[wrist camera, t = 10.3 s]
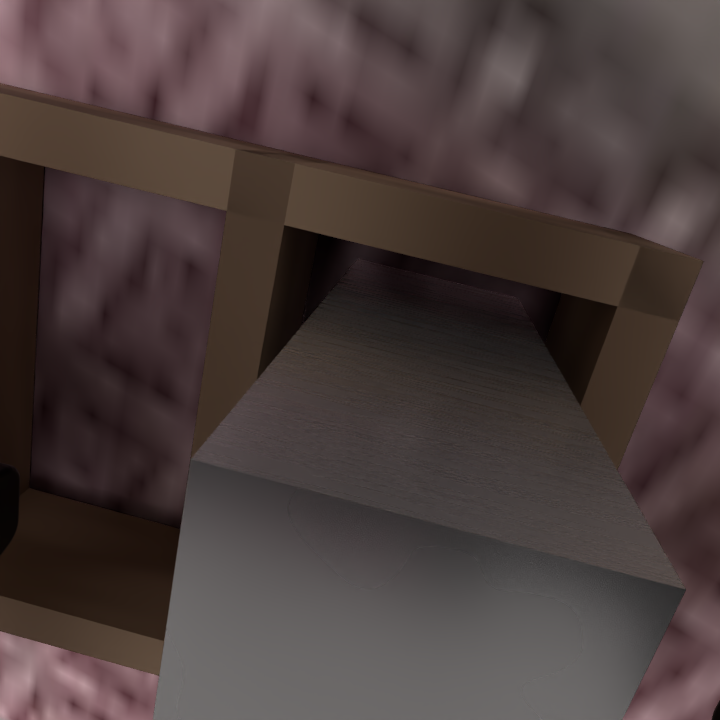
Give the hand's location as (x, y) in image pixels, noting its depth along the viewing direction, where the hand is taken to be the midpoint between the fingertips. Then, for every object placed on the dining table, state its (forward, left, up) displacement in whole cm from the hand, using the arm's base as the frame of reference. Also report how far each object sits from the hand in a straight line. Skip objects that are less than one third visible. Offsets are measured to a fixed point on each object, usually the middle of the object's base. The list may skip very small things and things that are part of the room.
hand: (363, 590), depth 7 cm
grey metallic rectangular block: (0, 0, -5) cm, 5 cm away
